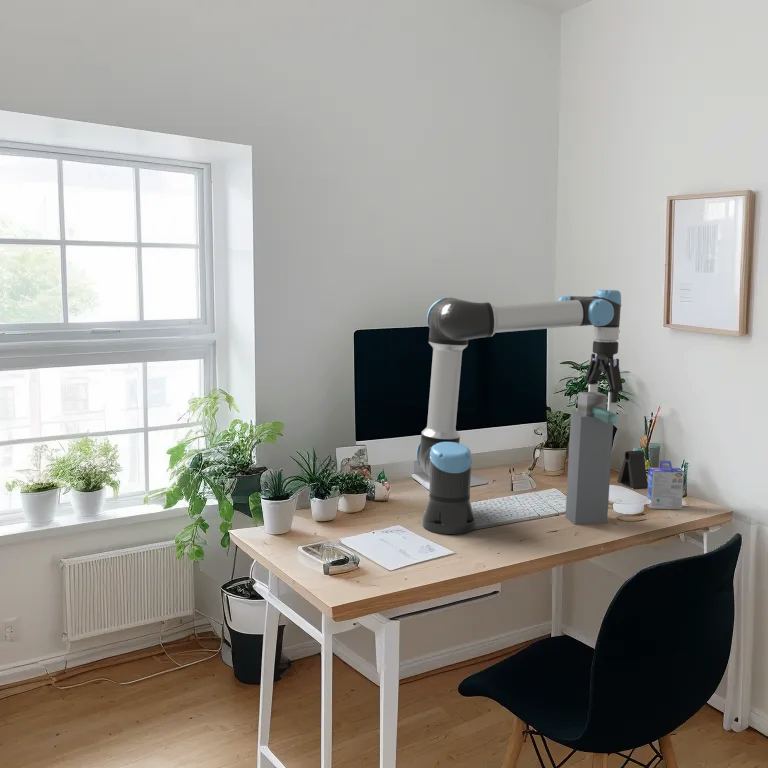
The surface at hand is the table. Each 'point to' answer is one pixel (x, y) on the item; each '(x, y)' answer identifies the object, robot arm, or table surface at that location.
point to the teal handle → (595, 406)
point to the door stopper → (633, 470)
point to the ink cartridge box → (665, 487)
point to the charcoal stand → (588, 469)
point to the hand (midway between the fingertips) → (601, 408)
